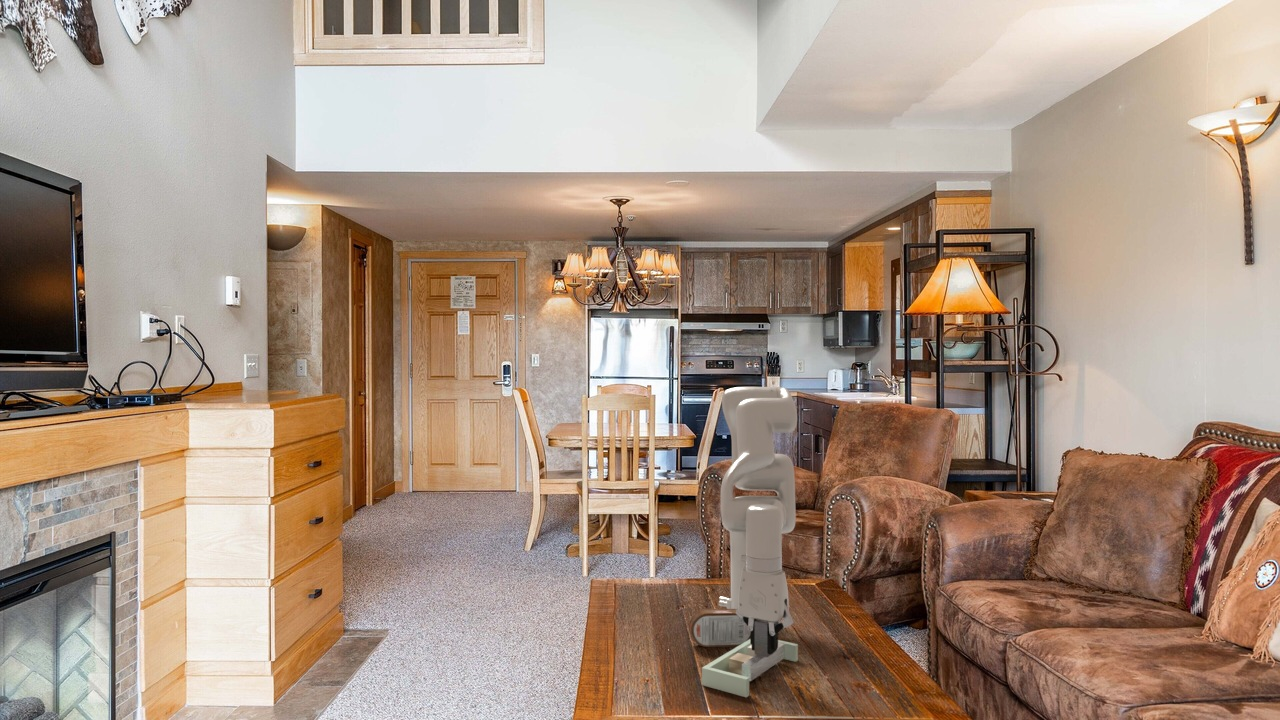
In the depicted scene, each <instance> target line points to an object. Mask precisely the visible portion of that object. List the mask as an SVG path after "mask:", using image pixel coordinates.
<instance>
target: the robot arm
mask: <svg viewBox="0 0 1280 720" xmlns="http://www.w3.org/2000/svg"><path fill="white" fill-rule="evenodd" d="M721 396H722V397H721V407H722V412H723V415H724V416H723V417H724V420H725V423H726V425H727V427H728V429H729V432H730V436H731V437H730V438H731V465H730V467H728V469H727V470H726V471H725V474H724V476H723V478H722V481H721V485H720V516H721V523H722V526H723V528H724V529H725V530H727V531H728V532H729V542H730V543H729V545H730V598H729V597H726V596H719V599H718V606H719V607H725V609H737V610H736V614H737V615H738V616H739V617H740V618H742V619H743V620H744V622H745V623H746V625H747V626H748V629H749V631H750V643H751V644H752V650H754V651H755V621H756V620H757V619H758V620H763V621H768V622H769V635H768V636H767V653H768V654H772V653H774V652H775V651H776V650H777V648H778V640H779V633H780V632H781V631H782V630H783V629H784V628H785V629H786V628H788V627H790V626H791V627H792V626H793V624H795V623H794V620H793V617H792V615H791V613H790V599H789V589H788V588H789V587H788V583H787V578H786V577H787V576H786V573H785V570H783V561H782V559H783V558H782V557H783V554H782V553H783V550H782V545H783V544H782V543H783V542H782V541H783V540H782V539H783V538H782V536H783V534H789V533H791V532H792V531H794V529H795V527H796V521H797V520H796V518H797V516H796V514H797V512H796V511H797V510H796V483H795V481H796V480H795V479H796V478H795V469H794V464H793V460H792V459H791V458H790V457H789V456H788V455H787V454H782V453H775V445H774V433H776V434H778V433H779V434H781V433H783V434H784V433H785V434H787V433H788V434H789V433H790V434H791V433H792V432H794V431H795V430H796V428H797V425H798V423H797V422H798V413H797V407H796V403H795V401H794V398H793V396H792V394H791V393H790V391H789V389H788V388H786V387H782V386H736V387H731V388H728V389H725V390H724V392H723V393H722V395H721ZM734 487H735V488H737V489H738V490H743V491H763V492H764V491H770V492H772V491H773V492H775V493H776V494H777V495H740V496H736V497H734V495H733V489H734ZM782 620H783V621H782ZM780 621H781V622H780Z"/></svg>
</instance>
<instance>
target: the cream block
mask: <svg viewBox="0 0 1280 720" xmlns="http://www.w3.org/2000/svg"><path fill="white" fill-rule="evenodd" d="M747 655H749V656H753V657H754V656H756V654H755V651H754V650H752V645H750V646H749V647H747Z"/></svg>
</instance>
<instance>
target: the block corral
mask: <svg viewBox="0 0 1280 720" xmlns="http://www.w3.org/2000/svg"><path fill="white" fill-rule="evenodd" d="M778 642H779V643H784V644H785V658H784V659H783V660H787V661H791V662H798V660H799V645H798V643H795V642H790V641H785V640H780V639H778ZM750 645H752V644H751V643H750V639H749V640H748V641H746V642H744V643H743V644H741V645H739V646H737V647H733V649H731V650H729V651H727V652H726V653H724V654H723V655H721V656H719V657H717V658H716V659H714V660H712V661H711V662H708V664H706V665H704V666H702V667H701V686H704V687H707V688H712V689H715V690H719V691H722V692H725V693H729V694H733V695H736V696H740V697H744V698H748V697H749V696H750V681H749V677H745V676H741V675H737V674H734V673H730V672H729V658H731V657H732V656H734V655H736V654H737V653H741V654H745V655H747V647H749V646H750Z"/></svg>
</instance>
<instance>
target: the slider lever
mask: <svg viewBox="0 0 1280 720" xmlns="http://www.w3.org/2000/svg"><path fill="white" fill-rule="evenodd" d="M768 635H769V622H768V621H763V620H758V619H757V620H756V621H755V654H756V656H754V657H752V658H751V659H749V660H748V661H746V662H745V663H743V664H742V676H745V677H749V682H752V681H753V680H755V679H756V678H758V677H759V676H761V675H762V674H764V673H765V672H766V671H768V670H769V669H770V668H773V666H774V665H777V664H778V663H779V662H781V661H782V660H785V659H784V658H785V644H784V643H779V642H778V648H777V650H776V651H775V652H774V653H772V654H768V653H767V636H768Z"/></svg>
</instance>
